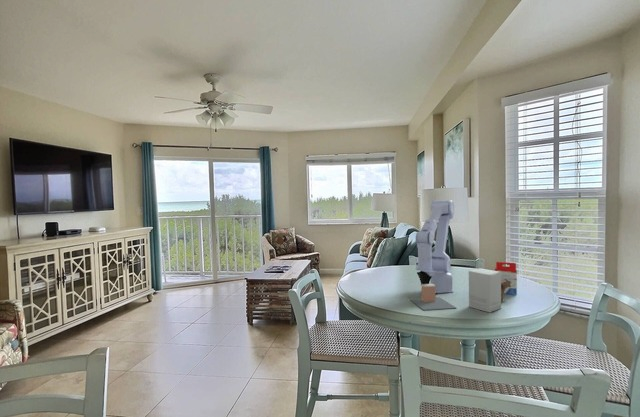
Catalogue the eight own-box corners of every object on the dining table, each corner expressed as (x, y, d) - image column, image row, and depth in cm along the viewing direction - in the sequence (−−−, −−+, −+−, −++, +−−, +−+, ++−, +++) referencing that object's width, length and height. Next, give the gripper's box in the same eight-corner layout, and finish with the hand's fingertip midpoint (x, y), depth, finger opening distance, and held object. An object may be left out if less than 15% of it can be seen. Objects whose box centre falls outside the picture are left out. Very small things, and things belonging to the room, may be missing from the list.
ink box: (515, 292, 149) (515, 261, 149) (516, 295, 145) (517, 263, 144) (494, 290, 153) (494, 259, 152) (495, 293, 148) (495, 261, 148)
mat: (439, 297, 142) (439, 297, 142) (456, 308, 128) (456, 307, 128) (409, 299, 140) (409, 298, 140) (423, 310, 127) (423, 309, 127)
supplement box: (502, 308, 128) (502, 271, 127) (489, 313, 123) (489, 274, 122) (480, 302, 135) (480, 267, 135) (467, 306, 130) (468, 270, 130)
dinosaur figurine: (497, 296, 143) (497, 276, 143) (511, 299, 138) (511, 278, 138) (480, 302, 136) (480, 280, 136) (494, 305, 131) (494, 283, 131)
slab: (432, 299, 139) (432, 283, 139) (435, 301, 136) (435, 285, 136) (421, 300, 138) (421, 284, 138) (424, 302, 136) (424, 285, 135)
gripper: (409, 255, 147) (409, 284, 147) (423, 261, 133) (423, 293, 133) (424, 255, 148) (424, 283, 148) (439, 261, 133) (439, 293, 134)
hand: (424, 288), depth 141 cm, fingers closed
